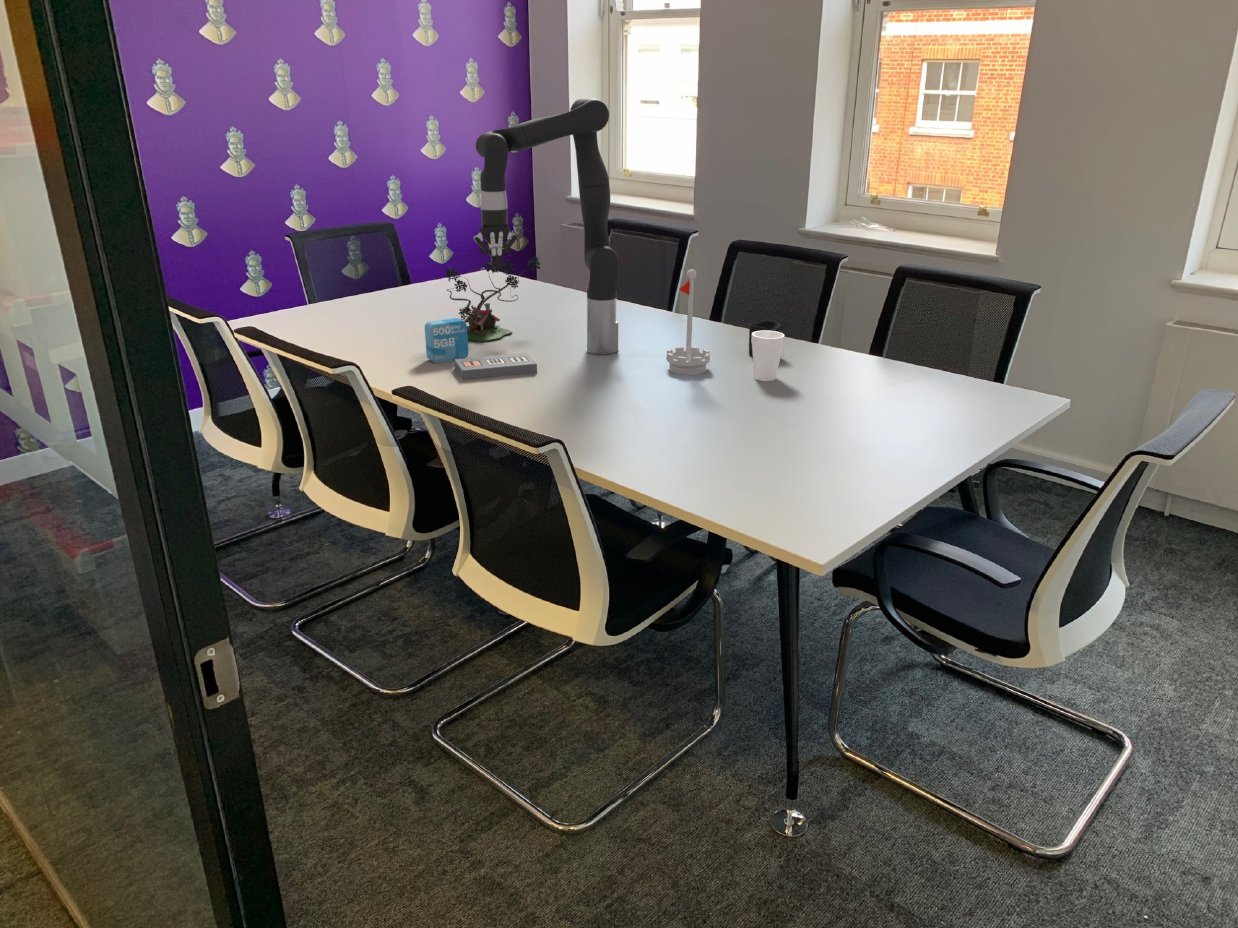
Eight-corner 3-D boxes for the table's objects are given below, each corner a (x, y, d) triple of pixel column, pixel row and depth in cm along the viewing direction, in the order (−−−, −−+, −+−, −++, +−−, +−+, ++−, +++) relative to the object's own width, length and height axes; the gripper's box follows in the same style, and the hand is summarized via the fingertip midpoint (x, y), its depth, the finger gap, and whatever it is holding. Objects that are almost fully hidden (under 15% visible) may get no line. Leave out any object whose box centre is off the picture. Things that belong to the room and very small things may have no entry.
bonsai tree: (484, 352, 298) (479, 251, 286) (432, 339, 312) (426, 242, 300) (559, 332, 323) (557, 238, 311) (508, 320, 338) (505, 230, 325)
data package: (432, 364, 286) (429, 325, 282) (426, 360, 290) (424, 322, 285) (468, 358, 292) (466, 320, 288) (462, 354, 296) (460, 317, 291)
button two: (524, 366, 285) (523, 356, 284) (528, 370, 281) (527, 360, 280) (509, 367, 283) (508, 357, 282) (513, 372, 279) (512, 361, 278)
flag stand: (686, 360, 292) (689, 263, 281) (718, 369, 284) (723, 269, 272) (657, 369, 284) (659, 269, 273) (689, 378, 275) (693, 275, 264)
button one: (478, 370, 280) (477, 360, 279) (481, 374, 276) (481, 364, 275) (463, 372, 279) (462, 361, 278) (466, 376, 275) (465, 365, 274)
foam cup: (760, 384, 271) (764, 340, 266) (742, 375, 279) (745, 332, 274) (787, 380, 275) (791, 336, 270) (768, 371, 283) (772, 329, 278)
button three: (501, 368, 283) (501, 358, 281) (505, 372, 279) (504, 362, 277) (486, 369, 281) (485, 359, 280) (489, 374, 277) (489, 363, 276)
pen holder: (776, 360, 294) (779, 328, 290) (746, 358, 296) (748, 326, 292) (778, 352, 303) (780, 321, 299) (748, 350, 304) (750, 319, 301)
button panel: (526, 362, 289) (526, 353, 288) (537, 373, 278) (536, 363, 277) (454, 369, 282) (454, 359, 280) (463, 380, 271) (462, 370, 270)
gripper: (513, 204, 275) (515, 264, 281) (468, 206, 270) (471, 267, 277) (520, 208, 268) (521, 269, 275) (473, 209, 264) (476, 272, 271)
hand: (496, 268), depth 276 cm, fingers closed
